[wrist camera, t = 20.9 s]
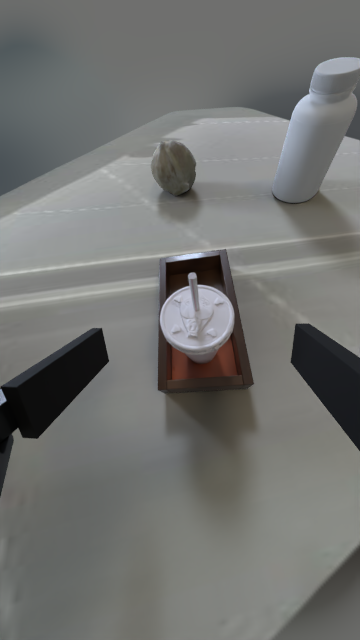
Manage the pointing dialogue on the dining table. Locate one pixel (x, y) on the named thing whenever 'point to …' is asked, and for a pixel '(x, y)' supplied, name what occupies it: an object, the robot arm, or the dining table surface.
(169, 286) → the tray
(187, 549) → the dining table surface
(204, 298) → the smoothie
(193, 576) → the dining table surface
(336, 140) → the pill bottle
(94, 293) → the dining table surface
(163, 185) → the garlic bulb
